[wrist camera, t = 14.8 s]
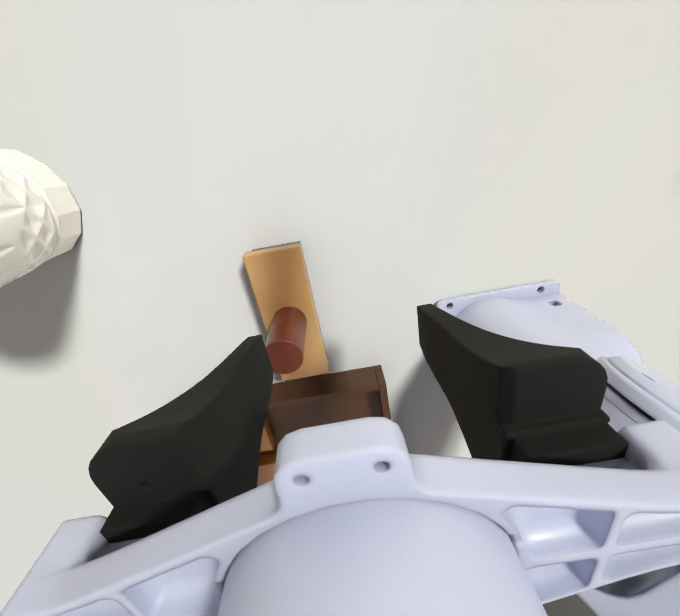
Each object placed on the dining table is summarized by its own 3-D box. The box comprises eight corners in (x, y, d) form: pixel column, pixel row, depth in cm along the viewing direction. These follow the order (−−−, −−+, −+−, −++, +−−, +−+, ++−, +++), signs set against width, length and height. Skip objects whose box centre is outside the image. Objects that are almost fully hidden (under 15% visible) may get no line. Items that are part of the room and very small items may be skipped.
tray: (380, 364, 27) (385, 383, 25) (396, 470, 34) (401, 492, 32) (200, 396, 28) (189, 417, 26) (248, 493, 34) (243, 517, 32)
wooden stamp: (301, 237, 22) (293, 270, 16) (328, 357, 27) (330, 416, 21) (248, 247, 22) (221, 283, 16) (285, 364, 27) (274, 426, 21)
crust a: (263, 408, 28) (261, 418, 27) (275, 439, 30) (273, 450, 29) (220, 415, 29) (216, 426, 27) (234, 445, 30) (231, 456, 29)
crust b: (279, 452, 31) (278, 462, 30) (289, 478, 33) (288, 489, 32) (240, 458, 31) (237, 469, 30) (252, 484, 33) (249, 495, 32)
